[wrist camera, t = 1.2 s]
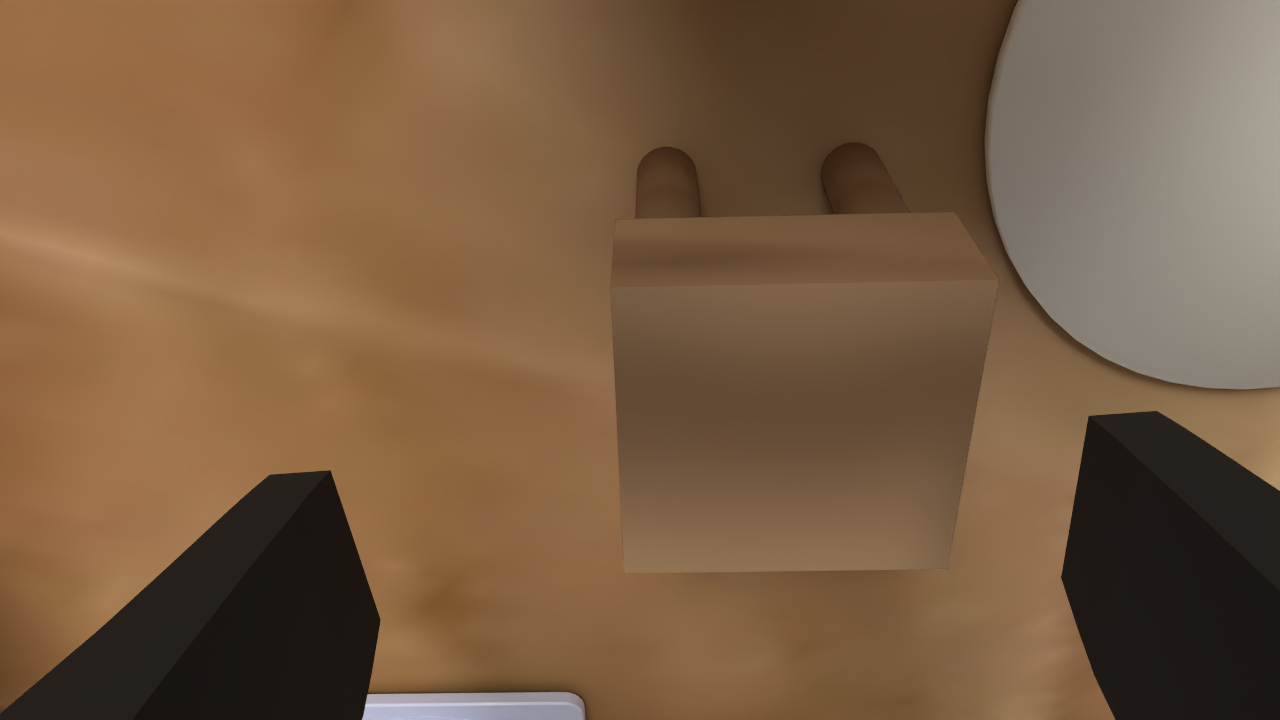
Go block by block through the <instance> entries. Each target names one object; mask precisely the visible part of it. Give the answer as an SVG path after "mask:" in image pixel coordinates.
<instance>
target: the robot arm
mask: <svg viewBox="0 0 1280 720" xmlns="http://www.w3.org/2000/svg"><path fill="white" fill-rule="evenodd" d="M1061 578H1062V581H1063V585H1064V588H1065V591H1066V594H1067V597H1068V600H1069V603H1070V606H1071V609H1072V612H1073V615H1074V618H1075V621H1076V624H1077V628H1078V631H1079V633H1080V636H1081V639H1082V642H1083V645H1084V647H1085V650H1086V653H1087V656H1088V659H1089V661H1090V664H1091V667H1092V670H1093V673H1094V675H1095V678H1096V680H1097V682H1098V684H1099V686H1100V688H1101V690H1102V692H1103V695H1104V697H1105V699H1106V701H1107V703H1108V705H1109V707H1110V709H1111V711H1112V713H1113V715H1114V717H1115V719H1116V720H1280V491H1279V490H1277V489H1276V488H1274V487H1273V486H1271V485H1270V484H1268V483H1267V482H1265V481H1264V480H1262V479H1261V478H1259V477H1258V476H1256V475H1255V474H1253V473H1252V472H1250V471H1249V470H1247V469H1246V468H1244V467H1243V466H1241V465H1240V464H1238V463H1237V462H1235V461H1234V460H1233V459H1231V458H1229V457H1228V456H1226V455H1225V454H1223V453H1222V452H1220V451H1219V450H1217V449H1216V448H1214V447H1213V446H1211V445H1210V444H1208V443H1207V442H1205V441H1204V440H1202V439H1201V438H1199V437H1198V436H1196V435H1195V434H1193V433H1192V432H1190V431H1188V430H1187V429H1185V428H1184V427H1182V426H1181V425H1179V424H1177V423H1176V422H1174V421H1172V420H1171V419H1169V418H1167V417H1166V416H1164V415H1162V414H1161V413H1159V412H1157V411H1151V412H1137V413H1123V414H1109V415H1095V416H1089V417H1088V423H1087V429H1086V435H1085V441H1084V447H1083V453H1082V459H1081V465H1080V470H1079V476H1078V482H1077V488H1076V494H1075V500H1074V506H1073V512H1072V517H1071V523H1070V529H1069V535H1068V541H1067V547H1066V553H1065V559H1064V565H1063V570H1062V576H1061ZM379 626H380V617H379V614H378V611H377V608H376V605H375V602H374V599H373V596H372V593H371V590H370V587H369V584H368V581H367V578H366V575H365V572H364V569H363V566H362V563H361V560H360V557H359V554H358V551H357V548H356V545H355V542H354V539H353V536H352V533H351V530H350V527H349V524H348V521H347V518H346V515H345V512H344V509H343V506H342V504H341V501H340V498H339V495H338V492H337V489H336V486H335V483H334V480H333V477H332V474H331V471H316V472H302V473H288V474H274V475H269V476H268V477H267V478H265V479H264V480H263V481H262V482H261V483H259V484H258V485H257V486H256V487H255V488H253V489H252V490H251V491H250V492H249V493H248V494H247V495H245V496H244V497H243V498H242V499H241V500H240V501H239V502H238V503H237V504H235V505H234V506H233V507H232V508H231V509H230V510H229V511H228V512H227V513H226V514H224V515H223V516H222V517H221V518H220V519H219V520H218V521H217V522H216V523H215V524H214V525H213V526H211V527H210V528H209V529H208V530H207V531H206V532H205V533H204V534H203V535H202V536H201V537H200V538H199V539H197V540H196V541H195V542H194V543H193V544H192V545H191V546H190V547H189V548H188V549H187V550H186V551H185V552H184V553H182V554H181V555H180V556H179V557H178V558H177V559H176V560H175V561H174V562H173V563H172V564H171V565H170V566H168V567H167V568H166V569H165V570H164V571H163V572H162V573H161V574H160V575H159V576H157V577H156V578H155V579H154V580H153V581H152V582H151V583H150V584H149V585H148V586H147V587H145V588H144V589H143V590H142V591H141V592H140V593H139V594H138V595H137V596H136V597H134V598H133V599H132V600H131V601H130V602H129V603H128V604H127V605H126V606H125V607H124V608H122V609H121V610H120V611H119V612H118V613H117V614H116V615H115V616H114V617H113V618H112V619H110V620H109V621H108V622H107V623H106V624H105V625H104V626H103V627H102V628H100V629H99V630H98V631H97V632H96V633H95V634H94V635H92V636H91V637H90V638H89V639H88V640H87V641H85V642H84V643H83V644H82V645H81V646H79V647H78V648H77V649H76V650H75V651H74V652H72V653H71V654H70V655H69V656H68V657H66V658H65V659H64V660H63V661H62V662H61V663H59V664H58V665H57V666H56V667H55V668H54V669H52V670H51V671H50V672H49V673H48V674H46V675H45V676H44V677H43V678H42V679H41V680H39V681H38V682H37V683H36V684H35V685H34V686H32V687H31V688H30V689H29V690H28V691H26V692H25V693H24V694H23V695H22V696H21V697H19V698H18V699H17V700H16V701H15V702H13V703H12V704H11V705H10V706H9V707H8V708H6V709H5V710H4V711H3V712H2V713H1V714H0V720H586V717H585V705H584V702H583V700H582V699H581V698H580V697H579V696H577V695H575V694H573V693H569V692H511V693H423V694H368V689H369V684H370V679H371V674H372V668H373V662H374V656H375V650H376V644H377V638H378V632H379Z"/></svg>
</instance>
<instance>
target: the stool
mask: <svg viewBox="0 0 1280 720" xmlns="http://www.w3.org/2000/svg"><path fill="white" fill-rule="evenodd" d="M821 177H822V182H823V185H824V187H825V190H826V192H827V195H828V197H829V200H830V202H831V205H832V207H833V210H834V212H835V215H791V216H744V217H701V211H700V202H699V193H698V184H697V175H696V168H695V165H694V163H693V161H692V160H691V158H690V157H689V156H688V155H687V154H686V153H684V152H683V151H681V150H679V149H676V148H672V147H662V148H658V149H655V150H653V151H651V152H649V153H648V154H647V155H646V156H645V157H644V158H643V159H642V160H641V162H640V164H639V166H638V170H637V188H636V219H616V220H615V234H614V248H613V261H612V275H611V307H612V328H613V349H614V370H615V391H616V412H617V434H618V455H619V476H620V497H621V518H622V539H623V560H624V574H627V573H699V572H771V571H843V570H915V569H947V568H948V562H949V557H950V551H951V546H952V540H953V535H954V529H955V523H956V518H957V512H958V507H959V501H960V496H961V490H962V485H963V479H964V473H965V468H966V462H967V457H968V451H969V446H970V440H971V434H972V429H973V423H974V418H975V412H976V407H977V401H978V395H979V390H980V384H981V379H982V373H983V368H984V362H985V356H986V351H987V345H988V340H989V334H990V329H991V323H992V317H993V312H994V306H995V301H996V295H997V290H998V284H999V279H998V277H997V276H996V274H995V272H994V271H993V269H992V268H991V266H990V265H989V263H988V262H987V260H986V259H985V257H984V256H983V254H982V253H981V251H980V250H979V248H978V247H977V245H976V244H975V242H974V241H973V239H972V237H971V236H970V234H969V233H968V231H967V230H966V228H965V227H964V225H963V224H962V222H961V221H960V219H959V218H958V216H957V215H956V213H955V212H930V213H910V211H909V210H908V208H907V206H906V204H905V203H904V201H903V199H902V197H901V195H900V194H899V192H898V190H897V188H896V186H895V185H894V183H893V181H892V179H891V178H890V176H889V174H888V172H887V170H886V169H885V167H884V165H883V163H882V161H881V160H880V158H879V156H878V155H877V153H876V152H875V151H874V150H873V149H872V148H871V147H869V146H867V145H865V144H861V143H848V144H844V145H842V146H839V147H838V148H836V149H835V150H833V151H832V152H831V153H830V154H829V155H828V157H827V158H826V160H825V161H824V164H823V166H822V171H821Z"/></svg>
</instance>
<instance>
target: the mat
mask: <svg viewBox="0 0 1280 720" xmlns="http://www.w3.org/2000/svg"><path fill="white" fill-rule="evenodd" d="M984 145H985V165H986V183H987V188H988V192H989V197H990V202H991V207H992V212H993V217H994V221H995V223H996V226H997V229H998V231H999V234H1000V237H1001V240H1002V242H1003V245H1004V248H1005V250H1006V253H1007V255H1008V256H1009V258H1010V260H1011V262H1012V263H1013V265H1014V267H1015V269H1016V270H1017V272H1018V274H1019V276H1020V277H1021V279H1022V281H1023V283H1024V284H1025V285H1026V287H1027V288H1028V290H1029V291H1030V292H1031V294H1032V295H1033V296H1034V297H1035V299H1036V300H1037V301H1038V302H1039V304H1040V305H1041V306H1042V307H1043V308H1044V310H1045V311H1046V312H1047V313H1048V315H1049V316H1050V317H1051V318H1052V319H1053V320H1054V321H1055V322H1056V323H1058V324H1059V325H1060V326H1061V327H1062V328H1063V329H1064V330H1065V331H1067V332H1068V333H1069V334H1070V335H1071V336H1072V337H1073V338H1074V339H1076V340H1077V341H1078V342H1080V343H1082V344H1083V345H1085V346H1086V347H1088V348H1089V349H1091V350H1093V351H1094V352H1096V353H1097V354H1099V355H1100V356H1102V357H1104V358H1105V359H1107V360H1110V361H1112V362H1114V363H1116V364H1119V365H1121V366H1123V367H1125V368H1128V369H1130V370H1132V371H1134V372H1137V373H1140V374H1144V375H1147V376H1150V377H1154V378H1157V379H1161V380H1164V381H1168V382H1172V383H1178V384H1185V385H1191V386H1198V387H1204V388H1221V389H1258V388H1272V387H1280V0H1018V2H1017V4H1016V6H1015V8H1014V11H1013V14H1012V16H1011V19H1010V22H1009V25H1008V28H1007V30H1006V33H1005V36H1004V39H1003V42H1002V45H1001V47H1000V50H999V53H998V57H997V62H996V66H995V71H994V75H993V80H992V84H991V88H990V93H989V97H988V107H987V118H986V129H985V140H984Z"/></svg>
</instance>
